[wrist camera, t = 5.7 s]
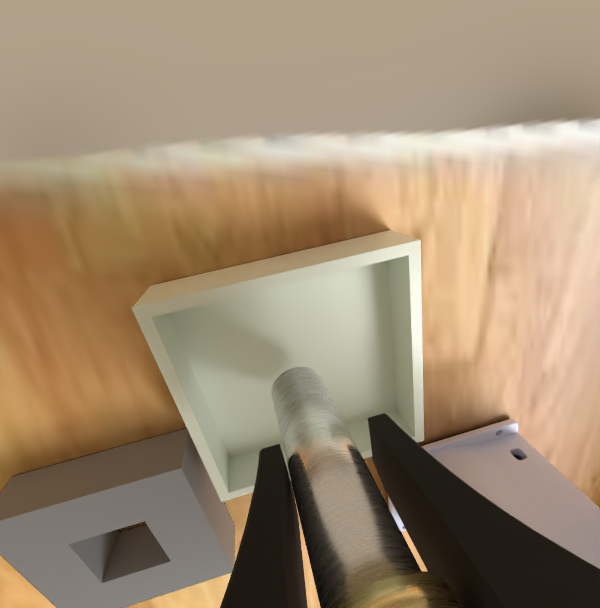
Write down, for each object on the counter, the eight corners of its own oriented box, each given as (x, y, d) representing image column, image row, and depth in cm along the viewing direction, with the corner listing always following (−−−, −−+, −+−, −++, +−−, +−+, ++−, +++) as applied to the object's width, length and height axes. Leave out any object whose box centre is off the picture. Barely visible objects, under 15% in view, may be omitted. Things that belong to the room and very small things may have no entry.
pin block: (189, 427, 16) (180, 468, 14) (235, 526, 20) (234, 571, 17) (11, 476, 15) (-28, 528, 13) (94, 570, 19) (74, 624, 17)
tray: (390, 229, 14) (420, 239, 12) (401, 408, 18) (424, 440, 16) (150, 285, 13) (131, 308, 11) (223, 459, 17) (221, 502, 15)
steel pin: (327, 350, 13) (486, 600, 5) (334, 407, 14) (472, 677, 6) (255, 369, 13) (310, 679, 5) (269, 426, 14) (332, 746, 6)
